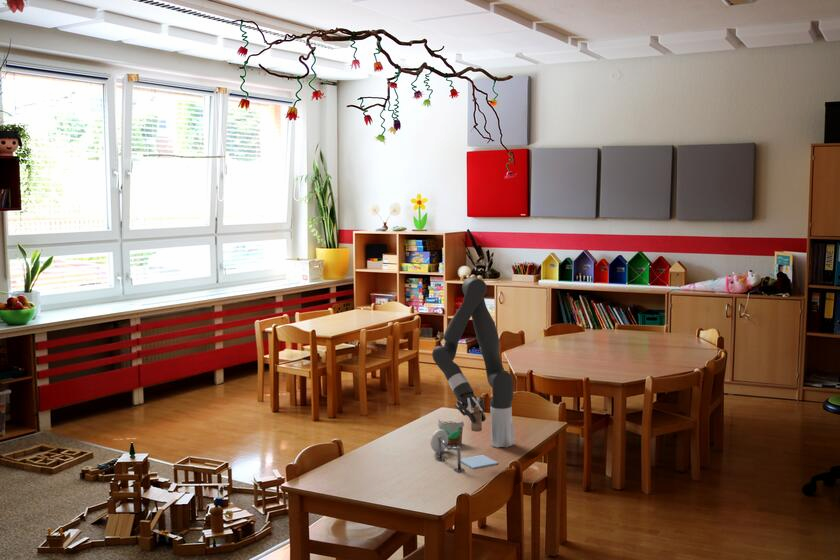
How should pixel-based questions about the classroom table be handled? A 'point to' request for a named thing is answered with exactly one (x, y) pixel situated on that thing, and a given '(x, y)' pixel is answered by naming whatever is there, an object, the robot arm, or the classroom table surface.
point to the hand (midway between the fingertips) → (479, 421)
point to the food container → (452, 431)
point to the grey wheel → (434, 440)
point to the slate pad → (478, 461)
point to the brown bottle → (478, 416)
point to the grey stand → (449, 449)
